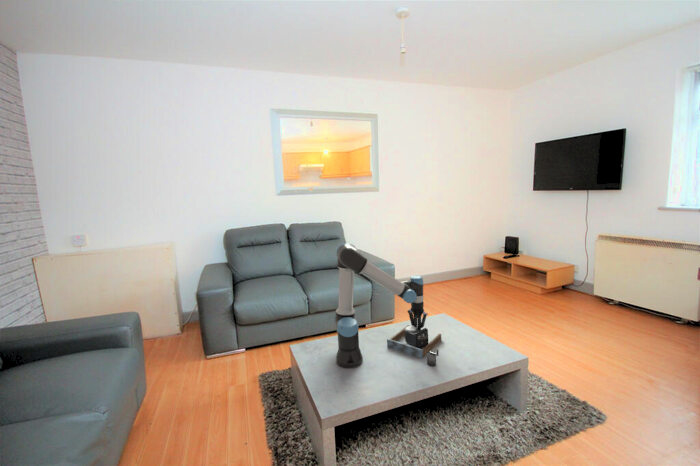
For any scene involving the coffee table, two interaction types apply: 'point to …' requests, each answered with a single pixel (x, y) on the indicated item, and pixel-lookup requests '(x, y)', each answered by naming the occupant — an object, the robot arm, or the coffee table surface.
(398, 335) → the bay
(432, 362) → the winch drum
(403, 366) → the coffee table surface
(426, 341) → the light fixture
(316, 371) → the coffee table surface
